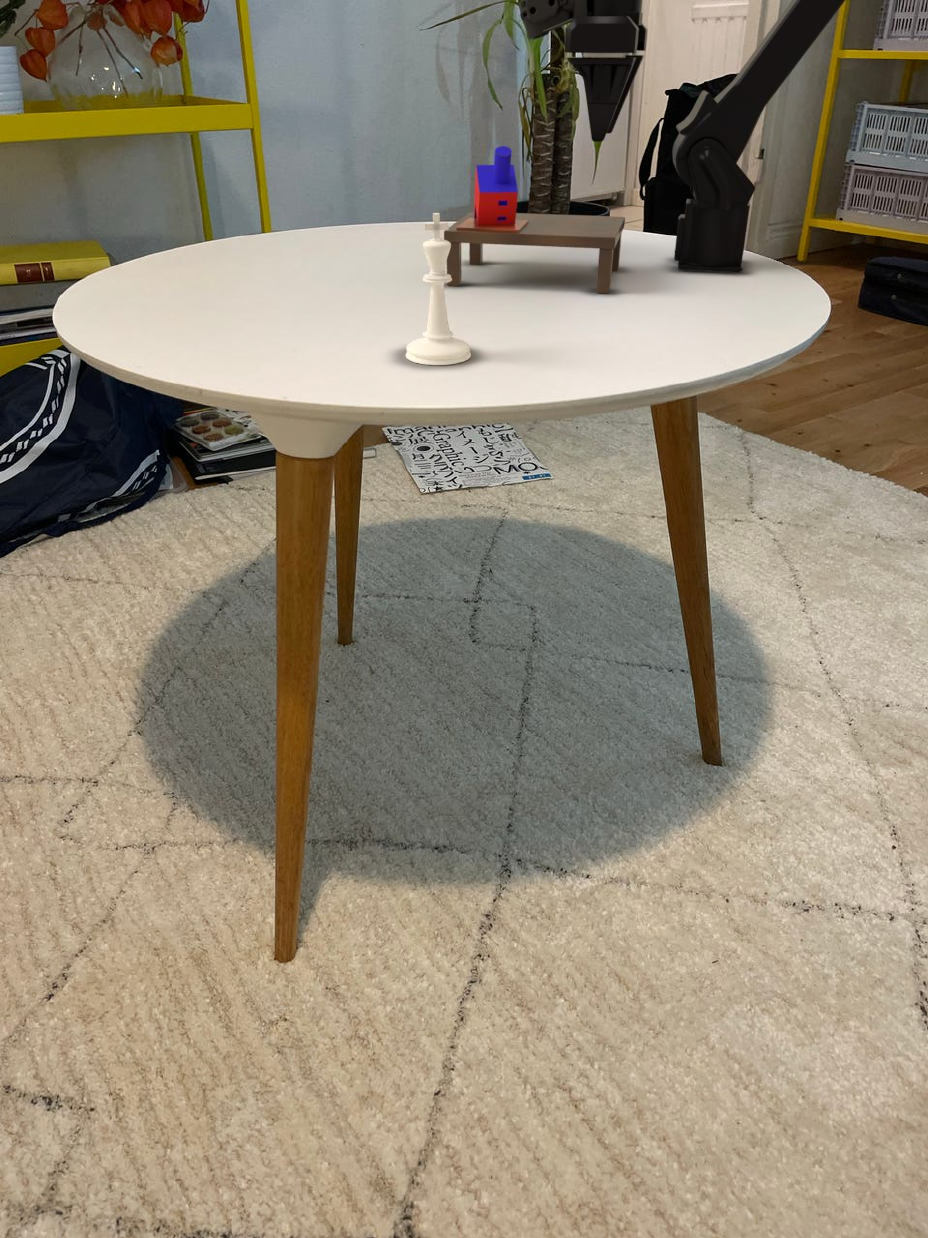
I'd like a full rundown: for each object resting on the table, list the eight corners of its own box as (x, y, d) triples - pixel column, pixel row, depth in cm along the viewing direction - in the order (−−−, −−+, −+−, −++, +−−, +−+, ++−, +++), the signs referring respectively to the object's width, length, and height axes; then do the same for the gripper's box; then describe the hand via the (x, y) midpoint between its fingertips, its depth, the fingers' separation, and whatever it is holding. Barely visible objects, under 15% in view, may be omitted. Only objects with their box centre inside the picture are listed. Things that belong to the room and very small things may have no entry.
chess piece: (404, 347, 74) (400, 208, 69) (467, 345, 75) (468, 207, 69) (406, 366, 70) (402, 219, 65) (473, 364, 70) (474, 218, 65)
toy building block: (476, 240, 93) (481, 164, 86) (473, 213, 95) (477, 136, 88) (513, 240, 93) (520, 164, 86) (509, 212, 95) (516, 136, 88)
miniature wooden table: (620, 268, 100) (625, 214, 97) (611, 294, 90) (615, 235, 87) (470, 261, 102) (470, 209, 100) (444, 286, 92) (443, 228, 90)
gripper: (542, -46, 97) (536, 127, 105) (510, -62, 81) (505, 144, 89) (654, -48, 95) (639, 129, 103) (643, -64, 79) (626, 146, 87)
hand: (602, 136), depth 96 cm, fingers open, 9 cm apart
